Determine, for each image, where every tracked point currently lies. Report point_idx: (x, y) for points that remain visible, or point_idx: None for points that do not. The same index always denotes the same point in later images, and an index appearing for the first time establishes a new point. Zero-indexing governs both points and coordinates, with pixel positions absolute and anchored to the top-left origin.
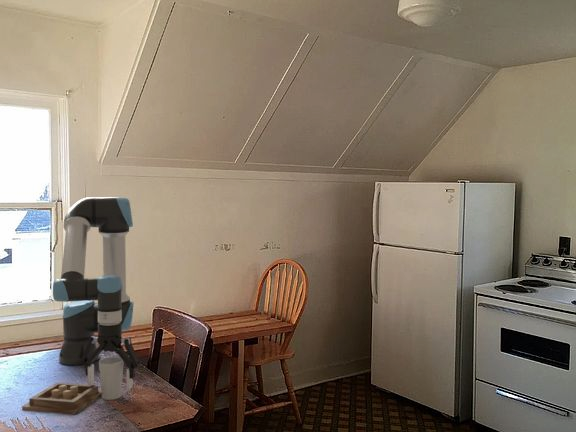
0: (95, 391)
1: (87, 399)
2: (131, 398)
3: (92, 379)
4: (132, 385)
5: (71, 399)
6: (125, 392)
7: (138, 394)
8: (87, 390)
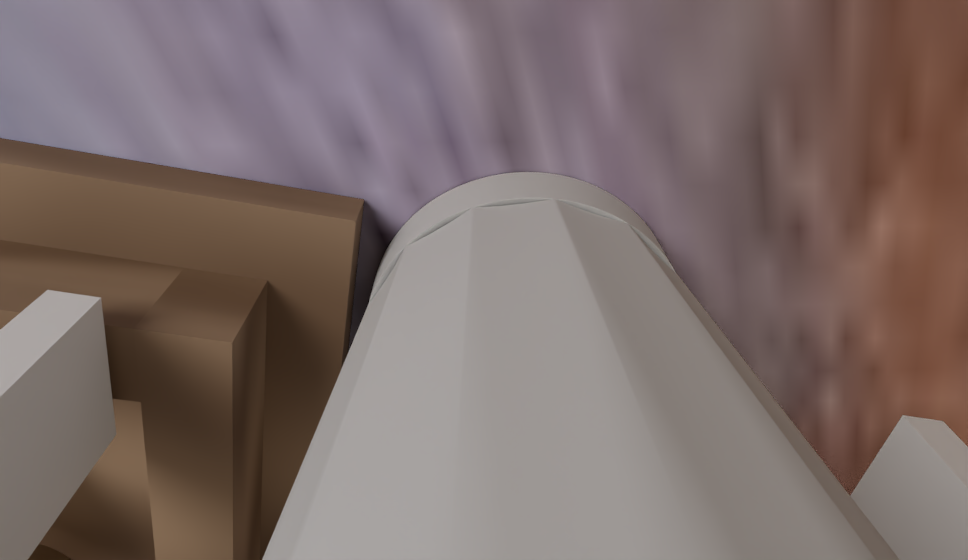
0: (256, 380)
1: (270, 538)
2: (826, 383)
3: (37, 436)
4: (957, 442)
5: (58, 544)
6: (720, 158)
7: (941, 242)
8: (176, 540)
